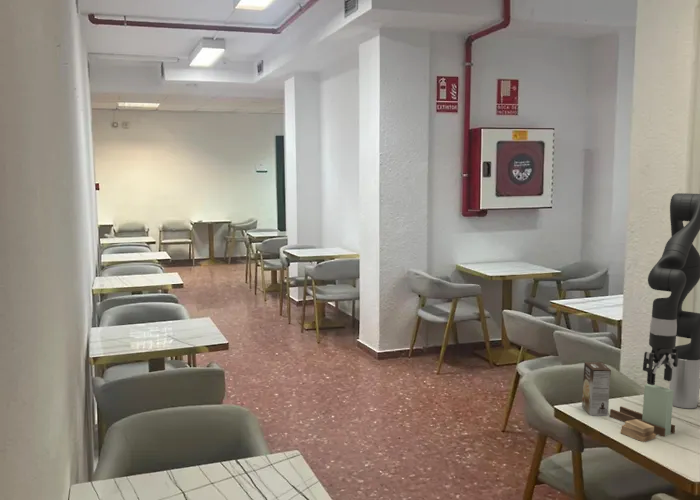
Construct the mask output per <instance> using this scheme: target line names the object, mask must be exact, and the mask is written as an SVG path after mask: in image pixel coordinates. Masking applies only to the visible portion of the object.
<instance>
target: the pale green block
mask: <svg viewBox="0 0 700 500" xmlns="http://www.w3.org/2000/svg"><path fill="white" fill-rule="evenodd" d="M673 393H674V390H670V389H669V388H667V387H663V386H661V385H657V384H655V385H650V384H648V383H646V384H644V390H643V405H642V414H643V416H642V420H643V421H646V422H649V423H651V424H654V425H657V426H660V427H662V428H665V436H667V435H668V436H669V435H671V434H672V433H671V424H672V418H673V407H674V406H673Z"/></svg>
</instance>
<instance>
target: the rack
mask: <svg viewBox="0 0 700 500" xmlns="http://www.w3.org/2000/svg"><path fill="white" fill-rule="evenodd" d="M642 416H643V413H641V412H639V411H636V410H633V409H629V408H627V407H624V406H619V411H618V410H616V409H613V408H610V409H609V417H610V418H613V419H615V420H618V421H621V422H623V423H625V421H629V420H634V419H637V420H639V421H642V422H644V423H647V424H649V425H651V426H654V432H653V433H654V434H656V436H659V437H662V438H664V437H666V435H665V428H662V427H660V426H657V425H654V424H651V423H649V422H646V421H643V420H642ZM675 432H676V425H674V424H672V423H671V433H670V434H672V435H673V434H675Z"/></svg>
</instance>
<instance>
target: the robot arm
mask: <svg viewBox="0 0 700 500" xmlns="http://www.w3.org/2000/svg"><path fill="white" fill-rule="evenodd" d="M669 221H670V232H671V237H670V238H669V239H668V240H667V242H666V243H665V246H664V250H663V252H662V256H661V257H660V258H659V260H658V261H657V263H655V265H654V266H653V267H652V269H651V270H650V272H649V274H648V277H647V284H648V286H649V288H650V289H652V290H655V291H663V292H669V293H670V295H669V296H668V297H658V298H655V299H654V300H653V302H652V311H651V320H650V326H649V338H648V339H649V341H648V344H649V346H650V347H651V348H652V349H651V350H650V352H649V351H644V355H643V362H642V363H643V365H642V371H643V372H646V373H647V376H646V384H650V385H656V373H657V370H658V369H660V368H661V366H662V365H664V366H663V367H664V368H663V369H664V371H663V380H664V381H667V382H669V386H668V389H670V390H674V393H673V406H672V407H677V408H680V409H681V408H682V409H696V408H697V407H698V405H699V398H700V397H699V396H700V313H699V312H693V311H688V310H687V311H686V310H683V303H684V301H685V300H686V298H687V296H688V295H689V294H690V292H691V291H692V290H693V289H694V288H695V286H696V285H698V283H699V281H700V253H699V251H698V250H697V248H696V247H695V246H694V244H693V243H694V241H695V239H696V237H697V236H698V234H699V232H700V193H689V192H686V193H684V192H682V193H680V192H679V193H678V192H677V193H674V194H673V195H672V196H671V198H670V203H669ZM684 222H688V223H687V224H686V225H685V226H684ZM678 337H679V338H685V339H690V342H689V343H686V344H682V345H680V344H679V345H676V344H677V343H676V342H677V338H678Z"/></svg>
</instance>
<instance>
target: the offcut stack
mask: <svg viewBox="0 0 700 500" xmlns="http://www.w3.org/2000/svg"><path fill="white" fill-rule="evenodd" d="M653 432H654V426H651V425H649V424H647V423H644V422H642V421H639V420H637V419H634V420H629V421H625V422H624V424H622V425H621V429H620V434H621V435H624V436H627V437H629V438H632V439H634V440H637V441H640V442H642V443H644V442H645V443H646V442H648V441H652V440H655V439H656V438H657V434H654V433H653Z"/></svg>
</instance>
